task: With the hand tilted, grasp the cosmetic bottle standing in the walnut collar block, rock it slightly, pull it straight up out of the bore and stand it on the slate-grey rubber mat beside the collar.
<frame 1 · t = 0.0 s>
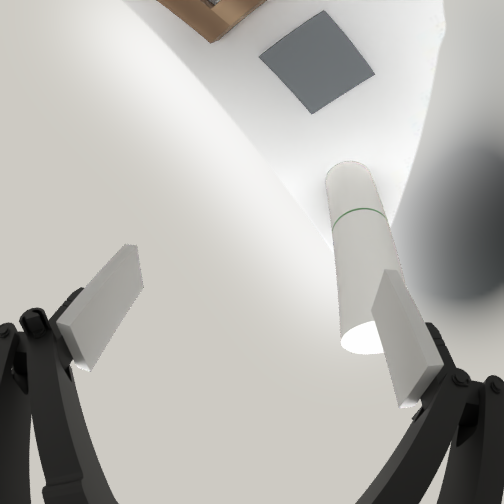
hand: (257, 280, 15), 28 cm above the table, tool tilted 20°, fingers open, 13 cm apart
cylindrical container: (348, 181, 41), on the table
mat: (318, 62, 29), on the table
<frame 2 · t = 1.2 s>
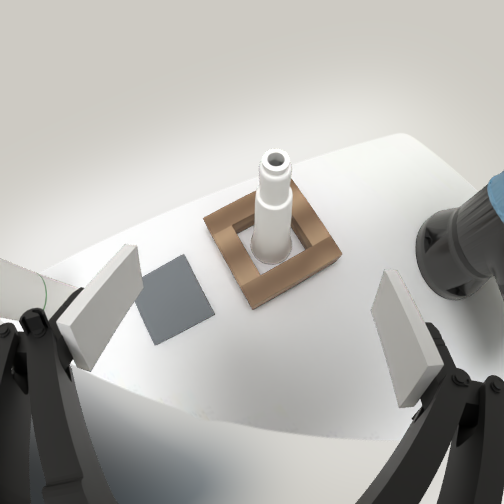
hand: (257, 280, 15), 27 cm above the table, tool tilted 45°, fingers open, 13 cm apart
collar: (271, 244, 44), on the table
cylindrical container: (71, 307, 42), on the table
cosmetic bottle: (271, 244, 44), resting in collar
mat: (169, 299, 42), on the table
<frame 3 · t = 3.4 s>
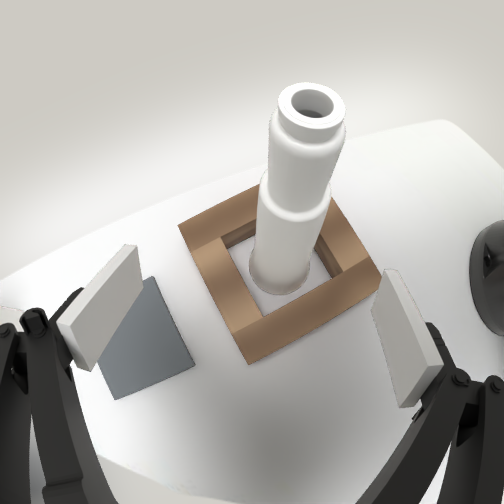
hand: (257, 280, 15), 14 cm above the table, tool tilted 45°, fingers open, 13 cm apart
collar: (279, 265, 30), on the table
cylindrical container: (19, 336, 28), on the table
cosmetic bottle: (279, 265, 30), resting in collar
mat: (133, 340, 28), on the table
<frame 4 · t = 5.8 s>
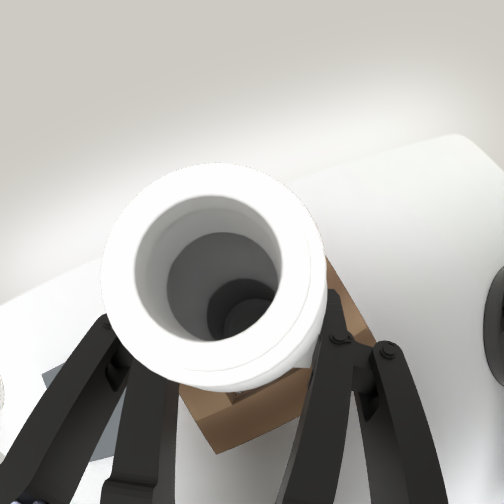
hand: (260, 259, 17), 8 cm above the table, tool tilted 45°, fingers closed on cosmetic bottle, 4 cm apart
collar: (256, 330, 24), on the table
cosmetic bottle: (256, 330, 24), resting in collar, touching gripper
mat: (96, 406, 22), on the table
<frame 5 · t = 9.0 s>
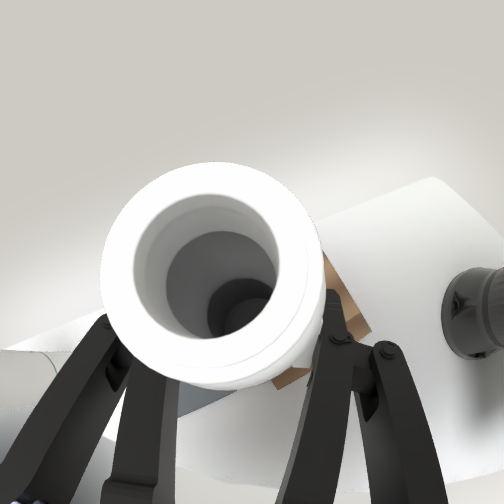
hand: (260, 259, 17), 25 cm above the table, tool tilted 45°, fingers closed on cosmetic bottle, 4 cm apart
collar: (295, 316, 40), on the table
cylindrical container: (83, 373, 39), on the table
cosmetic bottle: (257, 330, 24), point 16 cm above the table, touching gripper
mat: (188, 374, 38), on the table
when the fingers open (10 cm above the table, at t = 12.5 s): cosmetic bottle stays where it is, resting on mat.
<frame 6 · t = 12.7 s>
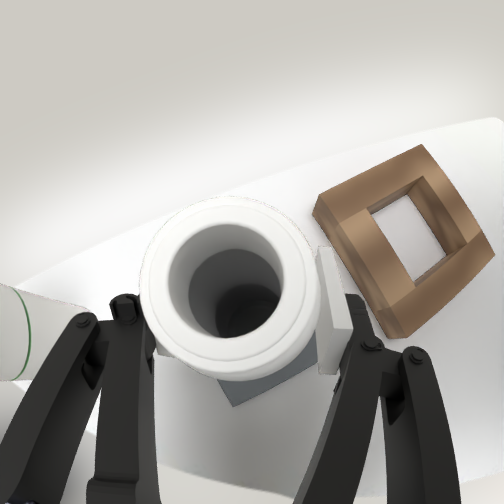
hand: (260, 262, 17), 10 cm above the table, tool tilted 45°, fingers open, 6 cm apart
collar: (403, 240, 27), on the table
cylindrical container: (77, 340, 25), on the table
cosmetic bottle: (259, 331, 25), resting on mat
mat: (256, 331, 25), on the table
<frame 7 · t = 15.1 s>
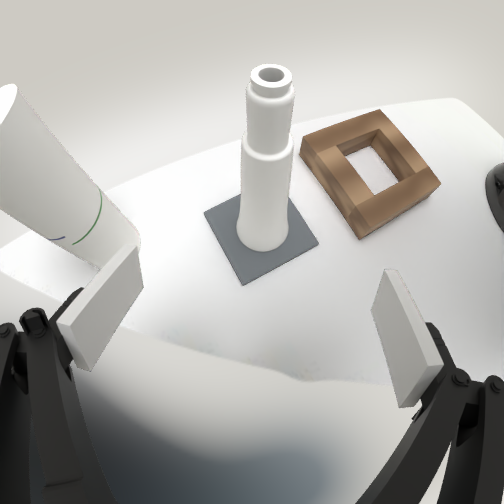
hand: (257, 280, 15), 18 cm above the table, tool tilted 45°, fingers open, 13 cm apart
collar: (367, 174, 37), on the table
cylindrical container: (116, 246, 35), on the table
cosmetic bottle: (262, 228, 35), resting on mat
mat: (260, 229, 35), on the table
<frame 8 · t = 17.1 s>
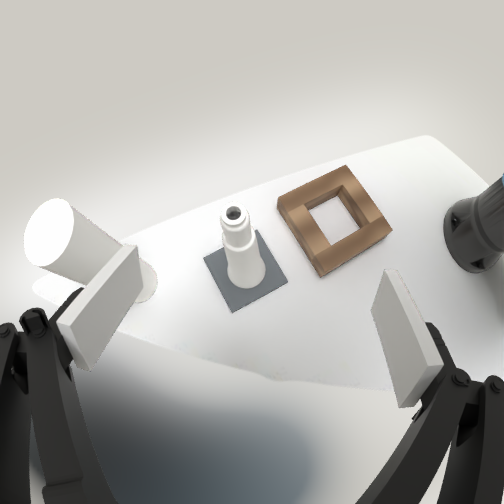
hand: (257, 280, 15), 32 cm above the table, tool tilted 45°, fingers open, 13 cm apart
collar: (332, 222, 50), on the table
cylindrical container: (138, 282, 48), on the table
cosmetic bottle: (246, 270, 47), resting on mat
mat: (245, 270, 48), on the table
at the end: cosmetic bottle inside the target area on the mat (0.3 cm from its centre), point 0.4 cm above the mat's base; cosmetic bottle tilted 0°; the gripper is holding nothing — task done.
